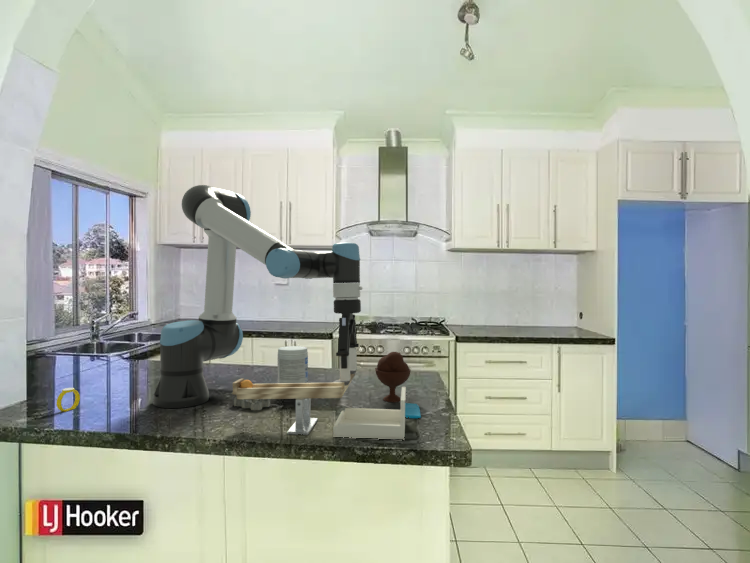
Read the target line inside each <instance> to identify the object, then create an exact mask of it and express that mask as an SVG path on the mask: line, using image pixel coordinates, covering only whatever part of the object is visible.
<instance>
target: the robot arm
mask: <svg viewBox="0 0 750 563" xmlns="http://www.w3.org/2000/svg"><path fill="white" fill-rule="evenodd" d="M181 209H182V213H183V214H184V216H185V217H186V218H187V220H189V221H191V222H192V223H193V224H195V225H196V226H198V227H199V228H201V229H203V232H204V233H205V234H206V236H207V237H208V238H207V241H208V242H207V254H206V255H207V257H206V259H207V260H206V275H205V291H204V292H205V293H204V307H203V308H204V309H203V312H202V313H201V314H200V315H198V319H197V320H195V319H193V320H191V319H190V320H184V321H183V320H182V321H176V322H170V323H168V324H165V325H164V326H163V327H162V328H161V331H160V339H159V343H160V353H159V354H160V362H159V363H160V364H159V366H160V367H159V368H160V369H159V370H160V371H159V372H160V373H159V380H158V382H157V385H156V387H155V391H154V393H153V397H152V400H153V402H152V404H153V406H154V407H158V408H162V409H164V408H165V409H182V408H189V407H194V406H199V405H202V404H205V403H206V402H208V401H209V398H210V392H209V388H208V385H207V382H206V379H205V377H204V372H203V371H204V369H203V368H204V362H208V361H212V360H218V359H219V360H221V359H225V358H228V357H230V356H232V355H233V356H234V354H236V352H238V351H239V350H240V348H241V346H242V343H243V340H244V333H243V330H242V329H241V326H240V324H239V323H237V318H238V317H236V315H235V314H234V313H233V304H234V302H233V301H234V286H235V272H236V257H237V256H236V254H237V248H239V249H240V250H242V251H243V252H245V253H246V254H248V255H250V256H251V257H252V258H254V259H256V260H257V261H259V262H260V263H262V264H264V265H265V267H266V269H267V271H268V273H269V274H270V275H271V276H273V277H274V278H280V279H305V280H306V279H307V280H308V279H310V280H311V279H325V278H327V279H328V278H332V290H333V291H332V293H333V296H332V297H333V298H335V299H334V300H333V312H334V314H338V315H339V314H341V317H339V318H338V319H339V320H338V322H339V326H338V328H339V329H338V342H337V343H338V345H337V352H336V353H335V356H336V357H338V361H339V369H338V370H339V379H340V381H350V370H356V371H357V369H358V367H357V363H358V362H357V360H358V359H357V358H358V357H357V348H359V346H360V345H359V343H358V340H357V338H358V337H357V330H356V329H357V328H356V322H357V321H356V314H359V313H361V311H362V306H361V304H362V303H361V302H362V301H361V299H360V297H361V291H362V290H363V286H361V274H360V273H361V271H360V270H361V268H360V267H361V263H360V262H361V258H360V247H359V244H357V243H355V242H337V243H333V244H332V248H331V250H330V251H329V250H328V251H311V250H310V251H309V250H300V249H294V248H293V247H291V246H289V245H287V244H285V243H283V242H282V240H279V239H277V238H276V237H275V236H273V235H271V234H269V233H268V232H266V231H265V230H263V229H261V228H259V227H258V226H257V225H255V224H253V223H251V222H250V220H251V215H252V214H251V213H252V211H251V206H250V204H249V202H248V200H247V199H246V198H245V197H244V195H241V194H240V193H236V192H235V191H232V190H226V189H223V188H218V187H215V186H210V185H205V184H198V185H194V186H192V187H190V188H188V189H187V191H186V192H184V194H183V196H182V199H181Z"/></svg>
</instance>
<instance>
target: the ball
mask: <svg viewBox="0 0 750 563" xmlns="http://www.w3.org/2000/svg"><path fill="white" fill-rule="evenodd" d="M253 384H254V383H253V382H252V380H249V379H244V381H242V382H241V384H240V388H252V387H253Z"/></svg>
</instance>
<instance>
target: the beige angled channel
mask: <svg viewBox="0 0 750 563" xmlns="http://www.w3.org/2000/svg"><path fill="white" fill-rule="evenodd" d="M356 372H357V370H350V381H340V378H339V379H335V380H334V381H333V382H332V381H331V382H308V383H278V382H277V383H276V382H275V383H273V382H272V383H271V382H270V383H252V384H253V387H252V388H240V384H241V382H242V381H244V380H245V378H239V379H237V380H235V381H233V382H232V392H233V394H237V399H270V400H284V399H285V400H288V399H290V400H291V399H293V400H294V399H295V400H296V399H297V398H311V399H342V398H343V396H344V394H345V393H346V391H347V389H348V388H349V387H350V385H351V383H352V381H353V379H354V378H355V376H356ZM233 394H232V395H233Z"/></svg>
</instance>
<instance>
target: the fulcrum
mask: <svg viewBox="0 0 750 563" xmlns="http://www.w3.org/2000/svg"><path fill="white" fill-rule="evenodd" d="M311 401H312V398H297V399H295V420H294V421H295V422H294V423H293V424H291V426H290V427H289V428H288V430H287V432H286V433H287V435H298V434H301V435H302V434H303V435H304V436H309V434H310V433H311V431H312V430H313V428H314V427H315V426H316V424H317V422H318V421H319V419H318V417H311V416H312V415H311V414H312V413H311V408H312V406H311ZM309 432H310V433H309ZM301 435H300V436H301Z"/></svg>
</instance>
